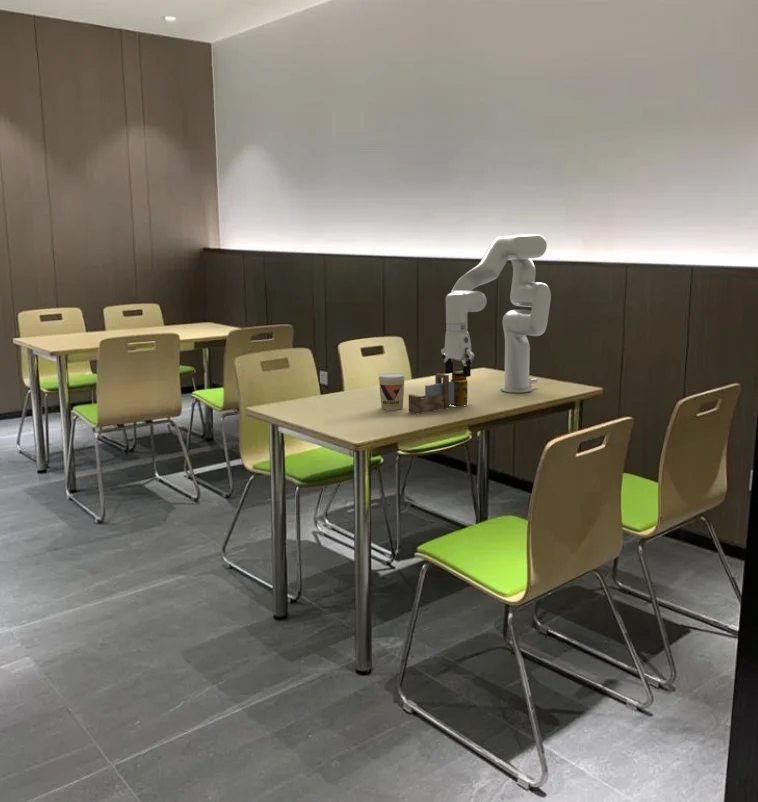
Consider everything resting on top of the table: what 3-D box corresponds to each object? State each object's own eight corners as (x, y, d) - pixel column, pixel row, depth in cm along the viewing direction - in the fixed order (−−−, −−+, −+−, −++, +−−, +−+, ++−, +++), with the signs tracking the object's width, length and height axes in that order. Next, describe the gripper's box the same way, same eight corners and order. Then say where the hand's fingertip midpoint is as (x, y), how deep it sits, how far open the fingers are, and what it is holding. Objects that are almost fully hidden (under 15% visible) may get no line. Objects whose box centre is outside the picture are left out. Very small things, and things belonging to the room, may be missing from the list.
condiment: (472, 405, 286) (472, 372, 284) (454, 408, 282) (454, 375, 279) (459, 401, 292) (459, 369, 290) (441, 404, 288) (441, 372, 285)
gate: (451, 403, 286) (451, 381, 285) (454, 403, 285) (454, 382, 283) (425, 407, 280) (425, 385, 278) (428, 408, 278) (427, 386, 277)
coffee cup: (377, 410, 280) (376, 377, 278) (381, 405, 289) (380, 372, 287) (403, 411, 279) (403, 377, 276) (406, 405, 288) (406, 373, 285)
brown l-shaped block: (439, 405, 286) (438, 373, 283) (448, 408, 281) (448, 375, 279) (408, 411, 278) (407, 377, 275) (417, 414, 273) (417, 379, 271)
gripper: (481, 328, 276) (481, 376, 280) (449, 324, 290) (450, 370, 294) (464, 331, 272) (465, 379, 276) (433, 327, 286) (434, 373, 290)
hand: (457, 374), depth 285 cm, fingers open, 9 cm apart
